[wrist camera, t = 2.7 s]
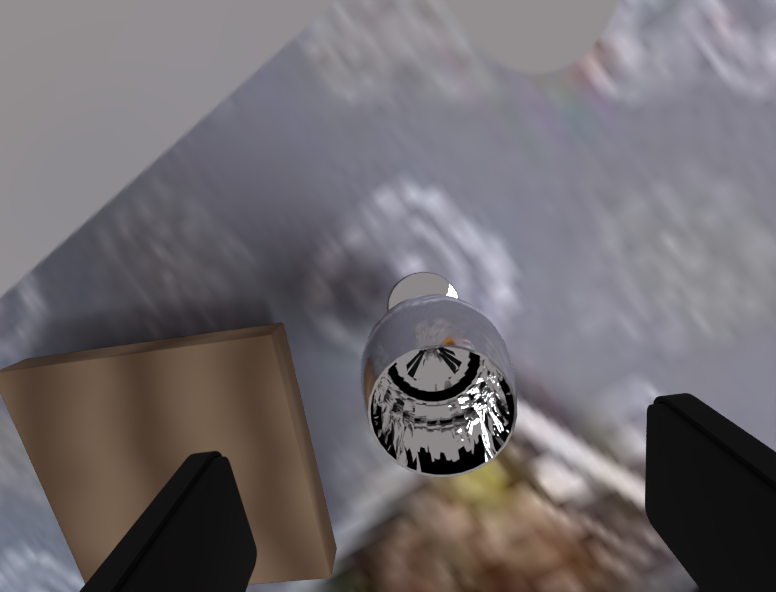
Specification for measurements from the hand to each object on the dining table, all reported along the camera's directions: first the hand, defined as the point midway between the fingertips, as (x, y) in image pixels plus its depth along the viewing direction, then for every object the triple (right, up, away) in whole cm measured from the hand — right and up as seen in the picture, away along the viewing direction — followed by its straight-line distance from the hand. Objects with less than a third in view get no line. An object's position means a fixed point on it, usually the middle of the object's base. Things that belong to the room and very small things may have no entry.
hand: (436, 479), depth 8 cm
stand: (-14, -6, +18) cm, 23 cm away
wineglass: (+1, +3, +15) cm, 16 cm away
